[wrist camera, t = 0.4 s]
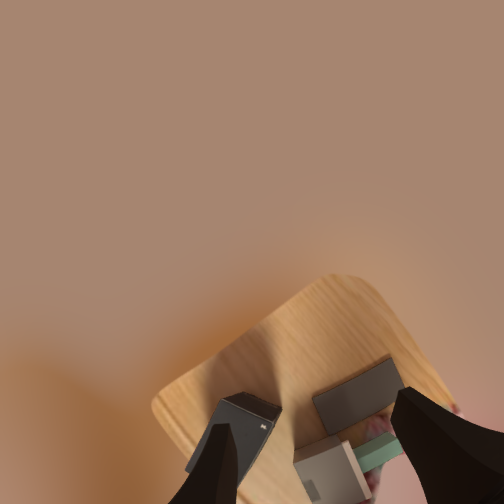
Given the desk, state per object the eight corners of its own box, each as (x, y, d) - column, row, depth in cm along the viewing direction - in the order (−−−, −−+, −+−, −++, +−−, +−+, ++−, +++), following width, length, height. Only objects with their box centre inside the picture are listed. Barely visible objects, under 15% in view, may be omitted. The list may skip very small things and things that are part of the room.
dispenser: (363, 480, 26) (372, 496, 21) (318, 499, 26) (319, 518, 21) (341, 430, 30) (348, 441, 25) (294, 450, 30) (292, 464, 25)
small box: (240, 388, 35) (219, 395, 26) (284, 407, 33) (277, 421, 24) (209, 449, 32) (180, 470, 23) (251, 468, 30) (234, 497, 21)
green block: (392, 443, 28) (403, 452, 24) (326, 475, 28) (329, 488, 24) (387, 431, 29) (397, 438, 25) (320, 462, 29) (323, 474, 25)
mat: (406, 393, 31) (407, 393, 30) (328, 434, 30) (328, 435, 30) (390, 357, 33) (391, 357, 33) (312, 398, 33) (312, 398, 32)
